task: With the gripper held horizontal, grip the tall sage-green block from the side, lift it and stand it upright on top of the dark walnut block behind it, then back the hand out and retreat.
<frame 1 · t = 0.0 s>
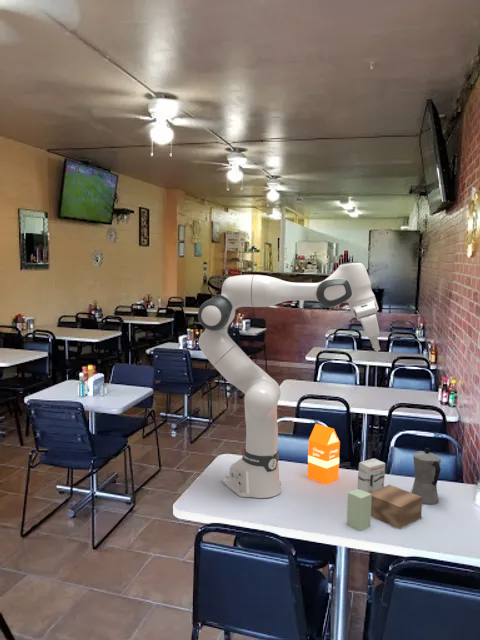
hand: (376, 348, 167), 52 cm above the table, tool tilted 20°, fingers open, 8 cm apart
ink box: (370, 495, 176), on the table
sage block: (358, 525, 154), on the table
coffeepot: (425, 501, 173), on the table
orange juice: (322, 478, 190), on the table
walnut block: (393, 516, 161), on the table
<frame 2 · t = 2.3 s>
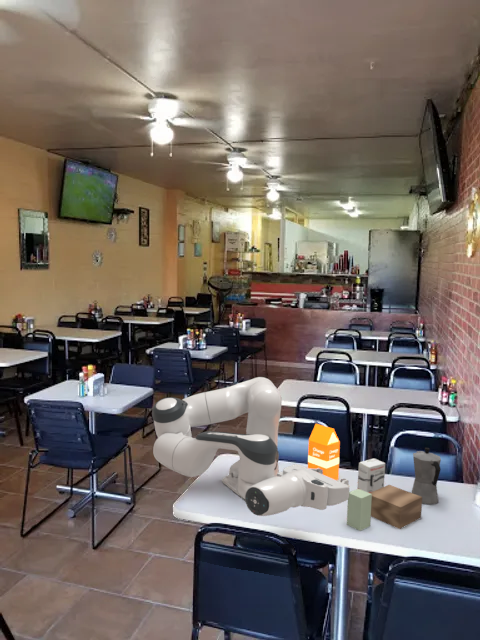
hand: (333, 476, 145), 18 cm above the table, tool horizontal, fingers open, 8 cm apart
nothing on the table moved.
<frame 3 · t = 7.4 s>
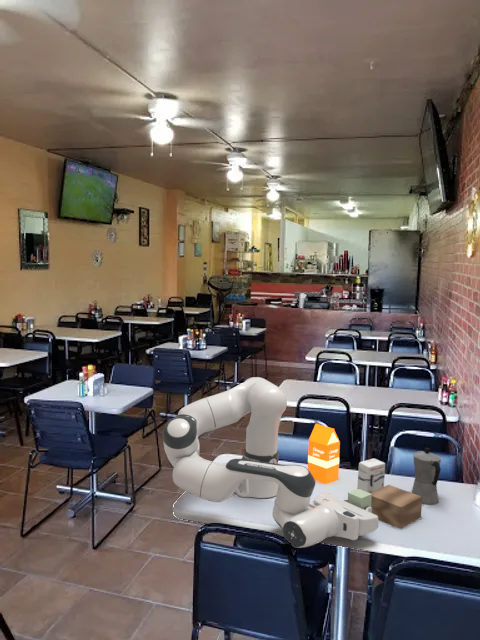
hand: (361, 505, 154), 6 cm above the table, tool horizontal, fingers closed on sage block, 5 cm apart
sage block: (358, 525, 154), on the table, touching gripper
everything else where it was.
when the fingers open (14 cm above the table, at t = 13.5 s): sage block drops 2 cm, point 7 cm above the table.
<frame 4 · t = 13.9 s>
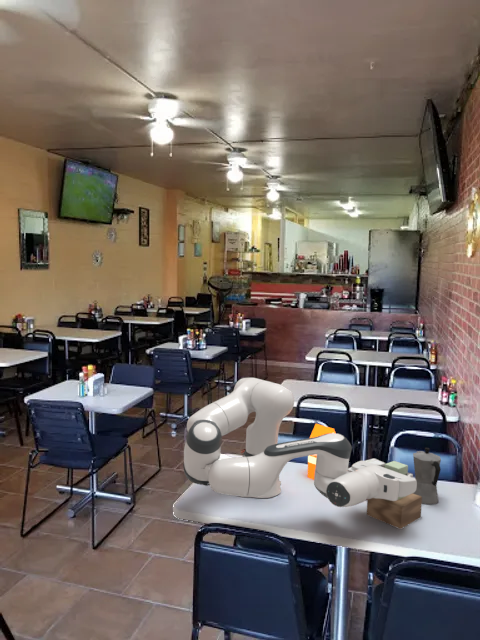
hand: (397, 471, 160), 14 cm above the table, tool horizontal, fingers open, 8 cm apart
sage block: (394, 495, 160), point 7 cm above the table
everything else where it was.
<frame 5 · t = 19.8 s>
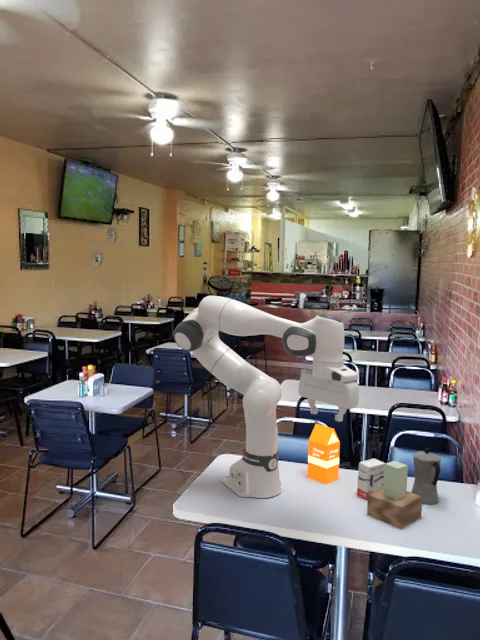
hand: (326, 417, 148), 34 cm above the table, tool pointing down, fingers open, 8 cm apart
nothing on the table moved.
at the end: sage block inside the target area on the walnut block (0.2 cm from its centre), point 7.0 cm above the walnut block's base; sage block tilted 0°; the gripper is holding nothing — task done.
